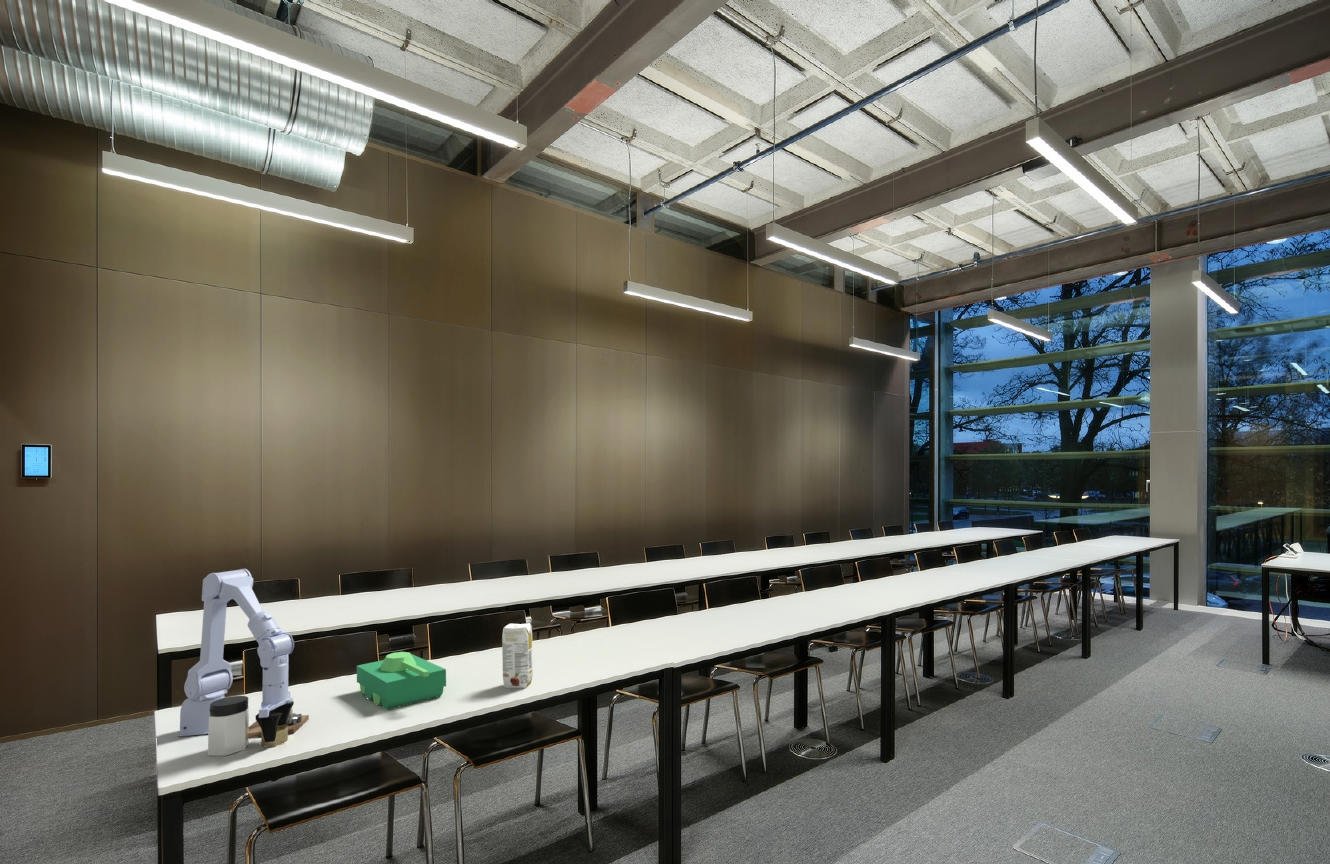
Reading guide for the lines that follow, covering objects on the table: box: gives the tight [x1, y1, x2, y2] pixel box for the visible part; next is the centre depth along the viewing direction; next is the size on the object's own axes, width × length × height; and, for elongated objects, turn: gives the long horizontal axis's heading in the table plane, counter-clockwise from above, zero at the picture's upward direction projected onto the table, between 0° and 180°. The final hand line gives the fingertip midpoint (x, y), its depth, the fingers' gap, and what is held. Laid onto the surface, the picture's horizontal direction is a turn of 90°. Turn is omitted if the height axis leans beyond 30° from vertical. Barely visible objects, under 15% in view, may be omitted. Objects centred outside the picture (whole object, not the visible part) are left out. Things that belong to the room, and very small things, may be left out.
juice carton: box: [501, 622, 534, 689], centre depth 210 cm, size 8×9×19 cm
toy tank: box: [356, 651, 447, 711], centre depth 202 cm, size 18×12×35 cm
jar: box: [207, 695, 250, 757], centre depth 165 cm, size 9×8×12 cm
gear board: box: [248, 708, 310, 739], centre depth 178 cm, size 13×11×5 cm
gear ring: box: [260, 724, 289, 748], centre depth 168 cm, size 5×5×4 cm
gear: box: [286, 712, 302, 726], centre depth 179 cm, size 6×6×2 cm
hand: (274, 736), depth 168 cm, fingers closed on gear ring, 5 cm apart
